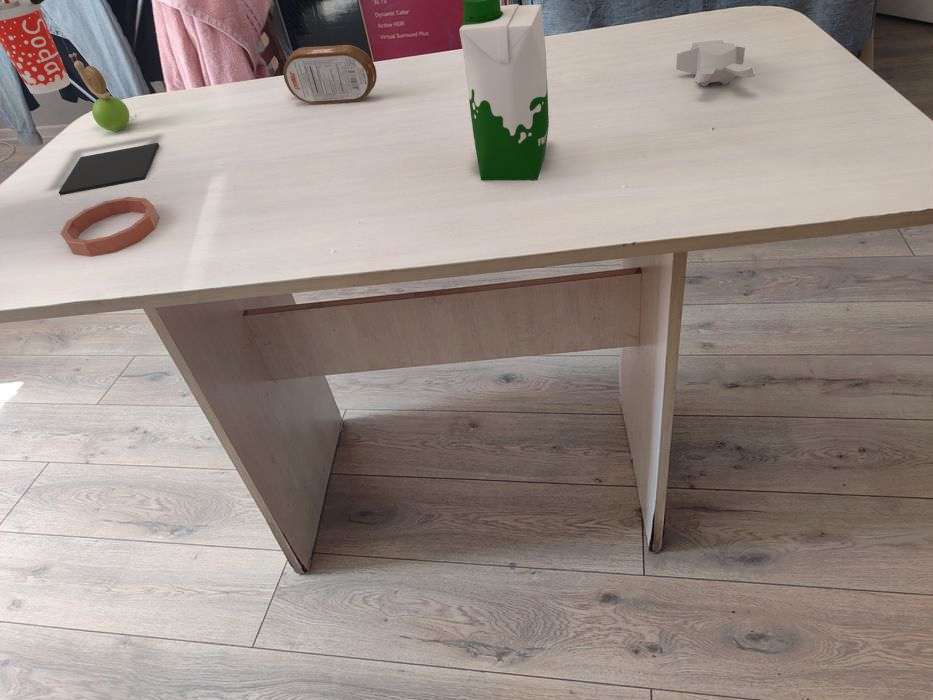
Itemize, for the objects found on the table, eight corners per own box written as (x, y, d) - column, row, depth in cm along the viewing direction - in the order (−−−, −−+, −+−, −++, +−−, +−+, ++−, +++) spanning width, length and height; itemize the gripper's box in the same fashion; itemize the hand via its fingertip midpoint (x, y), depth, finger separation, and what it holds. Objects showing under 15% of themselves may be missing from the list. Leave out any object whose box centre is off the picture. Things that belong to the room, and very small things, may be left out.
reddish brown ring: (63, 271, 79) (50, 250, 77) (86, 227, 87) (74, 206, 85) (153, 254, 80) (142, 232, 78) (168, 211, 88) (158, 190, 86)
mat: (60, 195, 96) (58, 192, 95) (82, 159, 105) (80, 156, 104) (144, 179, 96) (143, 176, 96) (159, 145, 105) (158, 142, 105)
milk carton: (486, 152, 90) (468, -14, 76) (554, 151, 87) (547, -20, 74) (472, 184, 83) (449, 10, 70) (545, 184, 81) (536, 4, 68)
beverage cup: (33, 100, 77) (-41, -38, 68) (15, 91, 80) (-57, -42, 71) (85, 82, 80) (21, -52, 71) (66, 74, 84) (3, -56, 74)
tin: (381, 95, 110) (370, 41, 105) (376, 102, 108) (365, 48, 102) (296, 99, 113) (281, 47, 108) (289, 107, 111) (274, 54, 106)
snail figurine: (120, 120, 116) (86, 47, 109) (141, 125, 113) (108, 50, 105) (92, 132, 113) (55, 59, 106) (113, 138, 110) (76, 63, 102)
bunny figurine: (737, 31, 101) (765, 52, 89) (734, 67, 104) (759, 93, 91) (672, 38, 102) (690, 59, 90) (670, 73, 105) (687, 99, 93)
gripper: (-218, -189, 60) (-86, 28, 71) (-19, -217, 60) (78, 2, 72) (-170, -191, 65) (-56, 10, 77) (11, -217, 66) (97, -14, 78)
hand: (8, 4), depth 74 cm, fingers closed on beverage cup, 6 cm apart
